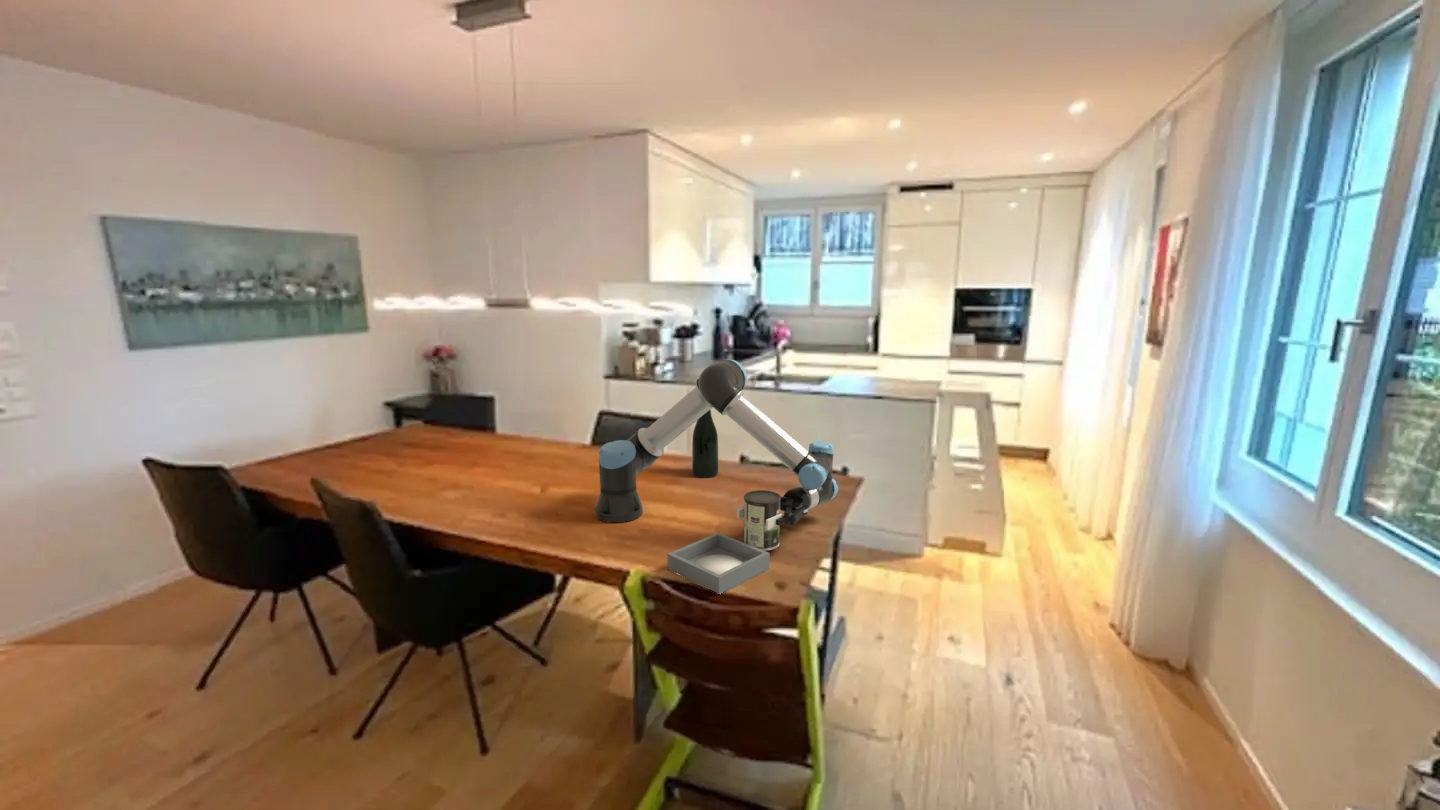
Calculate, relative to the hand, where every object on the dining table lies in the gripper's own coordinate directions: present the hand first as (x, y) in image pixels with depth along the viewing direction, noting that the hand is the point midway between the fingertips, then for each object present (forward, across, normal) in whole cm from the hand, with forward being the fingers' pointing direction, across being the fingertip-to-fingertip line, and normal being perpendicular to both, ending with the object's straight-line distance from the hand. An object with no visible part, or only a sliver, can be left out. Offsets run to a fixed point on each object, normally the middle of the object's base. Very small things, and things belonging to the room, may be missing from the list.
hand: (752, 519), depth 167 cm
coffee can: (-4, 0, -9) cm, 10 cm away
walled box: (+13, 0, -10) cm, 17 cm away
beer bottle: (-41, +60, -11) cm, 73 cm away
